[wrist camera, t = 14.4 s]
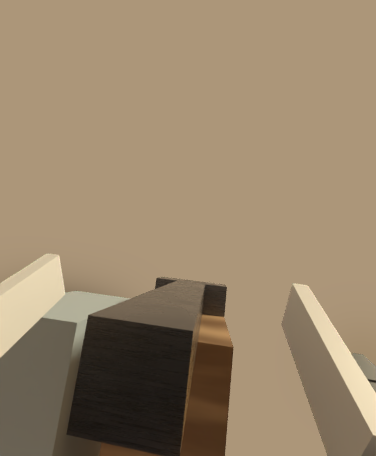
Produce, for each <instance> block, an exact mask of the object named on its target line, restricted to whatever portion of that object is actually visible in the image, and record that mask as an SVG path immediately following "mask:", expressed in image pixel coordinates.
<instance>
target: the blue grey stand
mask: <svg viewBox="0 0 376 456" xmlns="http://www.w3.org/2000/svg"><path fill="white" fill-rule="evenodd" d="M128 299H130V298H123V297H116V296H109V295H101V294H94V293H87V292H80V291H73V292H67V293H65V295H64V296H63V297H62V298H61V299H60V300H59V301H58V302H57V303H56V304H55V305H54V306H53V307H52V308H51V309H50V310H49V311H48V312H47V313H46V314H45V315H44V316H43V317H42V318H41V319H40V320H39V321H37V322H36V323H35V324H34V325H33V326H32V327H31V328H30V329H29V330H28V331H27V332H26V333H25V334H24V335H23V336H22V337H21V338H20V339H19V340H18V341H17V342H16V343H15V344H14V345H13V346H12V347H11V348H10V349H9V350H8V351H7V352H6V353H5V354H4V355H3V356H2V357H1V358H0V456H99V454H100V448H101V442H97V441H92V440H88V439H83V438H79V437H74V436H70V435H66V434H67V428H68V423H69V417H70V412H71V406H72V401H73V395H74V390H75V384H76V379H77V373H78V368H79V362H80V357H81V351H82V346H83V340H84V335H85V329H86V324H87V318H88V315H89V314H92V313H95V312H97V311H100V310H102V309H105V308H108V307H110V306H113V305H115V304H118V303H120V302H123V301H126V300H128Z"/></svg>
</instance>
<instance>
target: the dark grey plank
mask: <svg viewBox="0 0 376 456" xmlns="http://www.w3.org/2000/svg"><path fill="white" fill-rule="evenodd" d="M226 289H227V287H226V286H225V285H222V284H214V283H206V282H199V281H190V280H183V279H175V278H167V277H159V278H157V280H156V286H155V289H154V290H152V291H149V292H146V293H144V294H141V295H139V296H136V297H134V298H131V299H128V300H126V301H123V302H120V303H118V304H115V305H113V306H110V307H108V308H105V309H102V310H100V311H97V312H95V313H92V314H89V315H88V318H87V324H86V329H85V335H84V340H83V346H82V351H81V357H80V362H79V368H78V373H77V379H76V384H75V390H74V395H73V401H72V406H71V412H70V417H69V423H68V428H67V434H66V435H70V436H74V437H79V438H83V439H88V440H92V441H97V442H102V443H106V444H111V445H115V446H120V447H125V448H129V449H134V450H138V451H143V452H148V453H152V454H157V455H161V456H180V452H181V446H182V440H183V433H184V427H185V420H186V414H187V408H188V401H189V395H190V388H191V382H192V376H193V369H194V363H195V357H196V350H197V344H198V337H199V331H200V325H201V318H202V314H207V315H214V316H221V317H224V312H225V301H226Z"/></svg>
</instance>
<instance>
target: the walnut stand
mask: <svg viewBox="0 0 376 456" xmlns="http://www.w3.org/2000/svg"><path fill="white" fill-rule="evenodd" d="M232 357H233V345H232V342H231V338H230V335H229V332H228V329H227V326H226V322H225V319H224V317H221V316H214V315H207V314H202V318H201V325H200V331H199V337H198V344H197V350H196V357H195V363H194V369H193V376H192V382H191V388H190V395H189V401H188V408H187V414H186V420H185V427H184V433H183V440H182V446H181V452H180V456H225V446H226V433H227V420H228V407H229V396H230V382H231V370H232ZM99 456H161V455H157V454H152V453H148V452H143V451H138V450H134V449H129V448H125V447H120V446H115V445H111V444H106V443H102V442H101V448H100V454H99Z"/></svg>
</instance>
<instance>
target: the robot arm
mask: <svg viewBox="0 0 376 456" xmlns="http://www.w3.org/2000/svg"><path fill="white" fill-rule="evenodd" d="M64 295H65V289H64V283H63V276H62V270H61V264H60V258H59V255H54V254H45V255H44V256H42V257H41V258H39V259H38V260H36V261H34V262H33V263H31V264H30V265H28V266H27V267H25V268H23V269H22V270H20V271H19V272H17V273H15V274H14V275H12V276H11V277H9V278H8V279H6V280H4V281H3V282H1V283H0V358H1V357H2V356H3V355H4V354H5V353H6V352H7V351H8V350H9V349H10V348H11V347H12V346H13V345H14V344H15V343H16V342H17V341H18V340H19V339H20V338H21V337H22V336H23V335H24V334H25V333H26V332H27V331H28V330H29V329H30V328H31V327H32V326H33V325H34V324H35V323H36V322H37V321H39V320H40V319H41V318H42V317H43V316H44V315H45V314H46V313H47V312H48V311H49V310H50V309H51V308H52V307H53V306H54V305H55V304H56V303H57V302H58V301H59V300H60V299H61V298H62V297H63V296H64ZM282 327H283V330H284V333H285V336H286V338H287V341H288V344H289V347H290V350H291V353H292V356H293V358H294V361H295V364H296V367H297V370H298V373H299V376H300V379H301V381H302V384H303V387H304V390H305V393H306V396H307V398H308V401H309V404H310V407H311V410H312V413H313V416H314V419H315V421H316V424H317V427H318V430H319V433H320V436H321V438H322V441H323V444H324V447H325V450H326V453H327V456H376V366H375V365H374V364H373V363H372V362H370V361H369V360H368V359H367V358H366V357H365V356H364V355H363V354H356V353H350V351H349V350H348V348H347V347H346V345H345V343H344V342H343V341H342V339H341V337H340V336H339V334H338V332H337V331H336V329H335V328H334V326H333V324H332V323H331V321H330V320H329V318H328V317H327V315H326V313H325V312H324V310H323V309H322V307H321V305H320V304H319V302H318V301H317V299H316V298H315V296H314V294H313V293H312V291H311V290H310V288H309V287H308V285H301V284H292V287H291V291H290V295H289V298H288V302H287V306H286V310H285V313H284V317H283V321H282Z"/></svg>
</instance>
